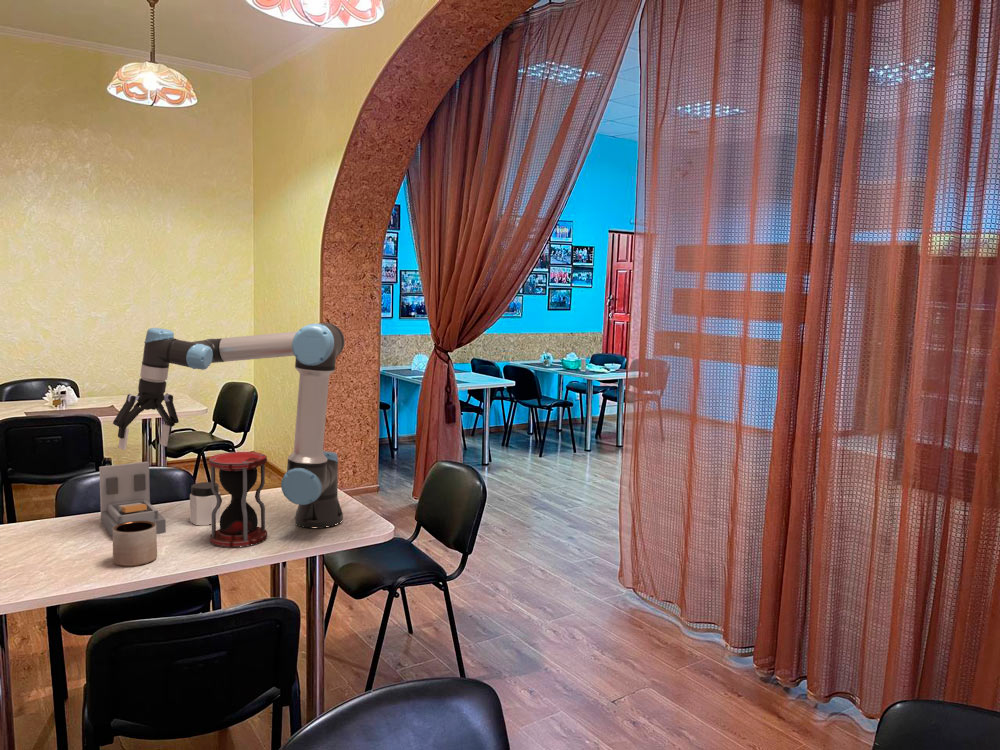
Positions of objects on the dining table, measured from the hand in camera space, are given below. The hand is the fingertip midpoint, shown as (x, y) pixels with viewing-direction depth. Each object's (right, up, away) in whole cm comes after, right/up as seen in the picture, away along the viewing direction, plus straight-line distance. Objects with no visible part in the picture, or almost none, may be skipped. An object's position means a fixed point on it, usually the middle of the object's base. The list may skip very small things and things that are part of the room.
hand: (143, 446), depth 232 cm
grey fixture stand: (-4, -25, +2) cm, 26 cm away
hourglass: (+31, -27, -6) cm, 42 cm away
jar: (+15, -25, +10) cm, 31 cm away
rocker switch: (-4, -19, +1) cm, 20 cm away
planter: (+10, -29, -25) cm, 39 cm away
